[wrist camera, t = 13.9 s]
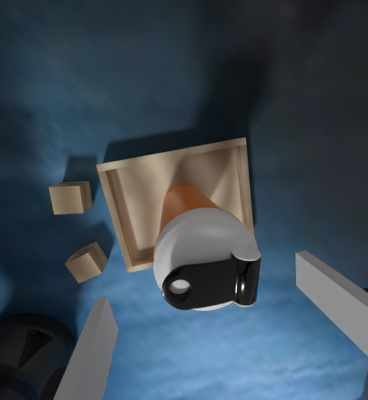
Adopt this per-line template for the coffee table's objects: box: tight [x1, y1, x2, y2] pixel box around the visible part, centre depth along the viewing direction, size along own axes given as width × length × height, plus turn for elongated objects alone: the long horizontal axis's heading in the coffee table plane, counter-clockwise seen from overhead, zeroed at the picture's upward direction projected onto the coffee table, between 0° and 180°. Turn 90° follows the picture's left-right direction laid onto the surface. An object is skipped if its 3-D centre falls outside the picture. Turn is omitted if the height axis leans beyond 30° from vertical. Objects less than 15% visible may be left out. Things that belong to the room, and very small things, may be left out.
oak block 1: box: [49, 181, 93, 215], centre depth 30 cm, size 4×4×4 cm
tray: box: [96, 138, 254, 273], centre depth 32 cm, size 22×18×3 cm
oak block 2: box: [65, 241, 108, 283], centre depth 33 cm, size 4×4×4 cm
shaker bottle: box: [153, 185, 261, 311], centre depth 23 cm, size 9×9×20 cm
